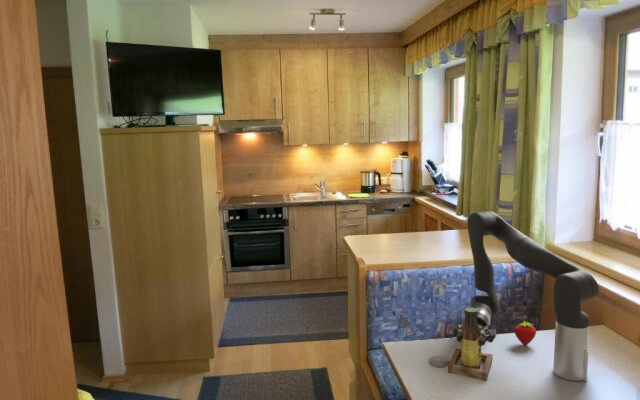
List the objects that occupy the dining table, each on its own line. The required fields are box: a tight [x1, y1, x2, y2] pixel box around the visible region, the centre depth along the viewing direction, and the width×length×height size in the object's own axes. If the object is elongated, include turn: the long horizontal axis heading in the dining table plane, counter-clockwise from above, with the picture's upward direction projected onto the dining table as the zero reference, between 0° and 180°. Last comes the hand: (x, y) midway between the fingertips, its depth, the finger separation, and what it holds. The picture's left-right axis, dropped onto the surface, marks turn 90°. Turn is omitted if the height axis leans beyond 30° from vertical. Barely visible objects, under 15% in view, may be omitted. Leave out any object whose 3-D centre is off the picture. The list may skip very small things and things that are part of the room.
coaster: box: [428, 355, 451, 369], centre depth 158 cm, size 7×7×1 cm
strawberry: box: [514, 318, 537, 346], centre depth 167 cm, size 6×8×10 cm
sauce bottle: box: [460, 307, 482, 370], centre depth 153 cm, size 6×6×20 cm
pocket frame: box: [447, 347, 493, 381], centre depth 154 cm, size 12×13×2 cm
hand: (470, 341), depth 151 cm, fingers closed on sauce bottle, 6 cm apart
